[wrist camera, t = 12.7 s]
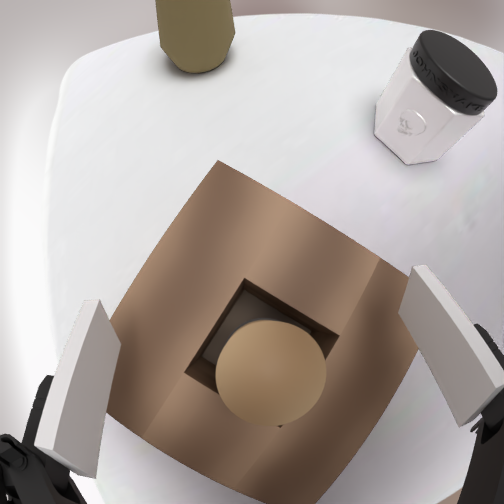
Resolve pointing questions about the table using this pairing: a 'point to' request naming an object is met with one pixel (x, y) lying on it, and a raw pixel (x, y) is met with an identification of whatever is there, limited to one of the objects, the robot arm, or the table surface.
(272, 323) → the oak peg
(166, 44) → the squeeze bottle
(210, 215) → the walnut socket block
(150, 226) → the table surface
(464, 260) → the table surface
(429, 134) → the jar
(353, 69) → the table surface
